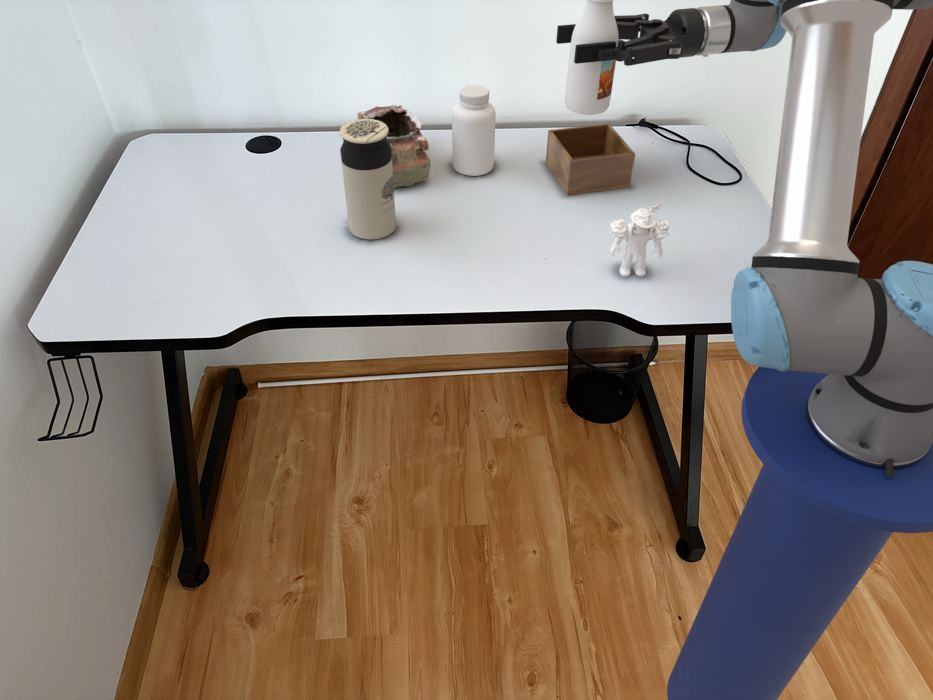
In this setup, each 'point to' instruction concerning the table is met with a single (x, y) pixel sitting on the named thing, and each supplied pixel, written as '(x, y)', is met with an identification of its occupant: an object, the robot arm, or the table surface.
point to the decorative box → (403, 144)
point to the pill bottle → (473, 131)
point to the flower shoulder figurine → (638, 238)
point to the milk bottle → (592, 79)
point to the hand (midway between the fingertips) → (566, 44)
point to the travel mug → (368, 178)
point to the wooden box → (589, 159)
